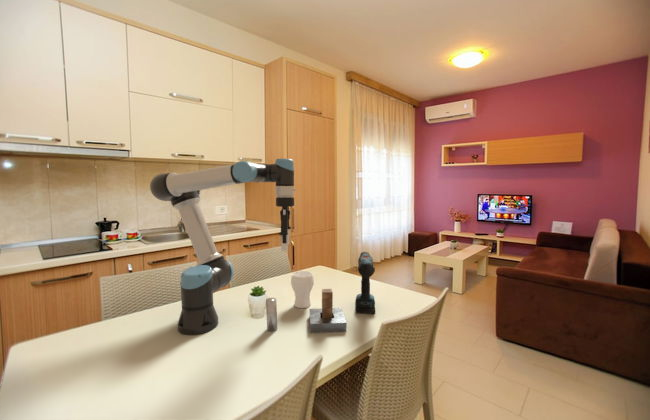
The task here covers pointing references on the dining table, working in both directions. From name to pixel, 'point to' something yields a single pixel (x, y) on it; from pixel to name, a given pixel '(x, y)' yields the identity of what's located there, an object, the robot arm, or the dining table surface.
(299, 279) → the cup
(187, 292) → the robot arm
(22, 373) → the dining table surface
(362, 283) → the power drill
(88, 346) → the dining table surface
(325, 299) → the square bit
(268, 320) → the round bit
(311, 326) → the socket block
